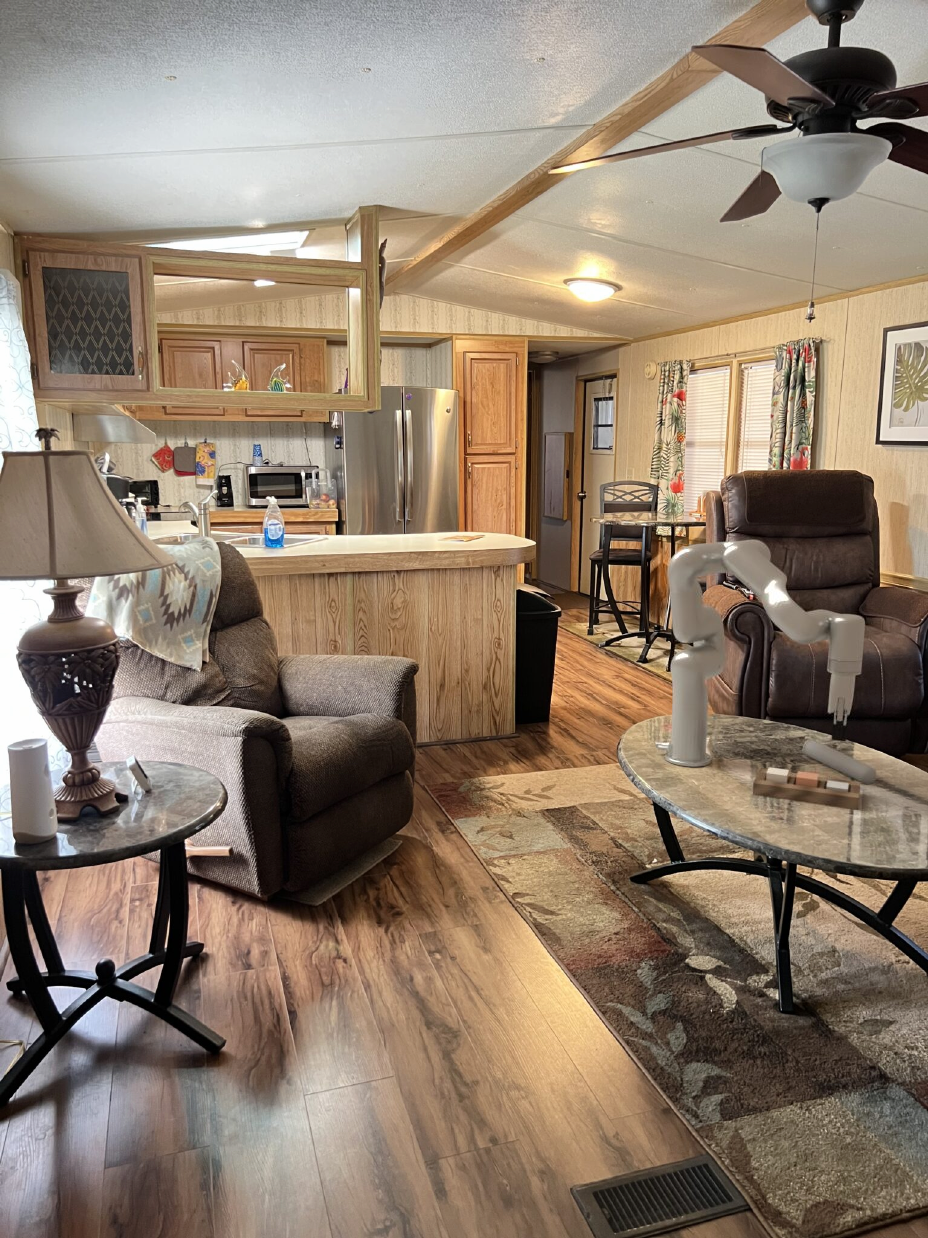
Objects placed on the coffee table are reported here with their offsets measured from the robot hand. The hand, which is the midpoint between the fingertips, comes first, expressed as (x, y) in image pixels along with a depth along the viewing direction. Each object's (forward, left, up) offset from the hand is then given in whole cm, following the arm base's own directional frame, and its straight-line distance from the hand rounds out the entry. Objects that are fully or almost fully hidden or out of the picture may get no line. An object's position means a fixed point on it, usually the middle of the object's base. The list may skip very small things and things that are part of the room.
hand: (838, 739), depth 217 cm
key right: (+1, 0, -14) cm, 14 cm away
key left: (-13, 0, -13) cm, 19 cm away
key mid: (-6, 0, -13) cm, 15 cm away
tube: (0, +23, -15) cm, 28 cm away
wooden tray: (-6, 0, -15) cm, 16 cm away
